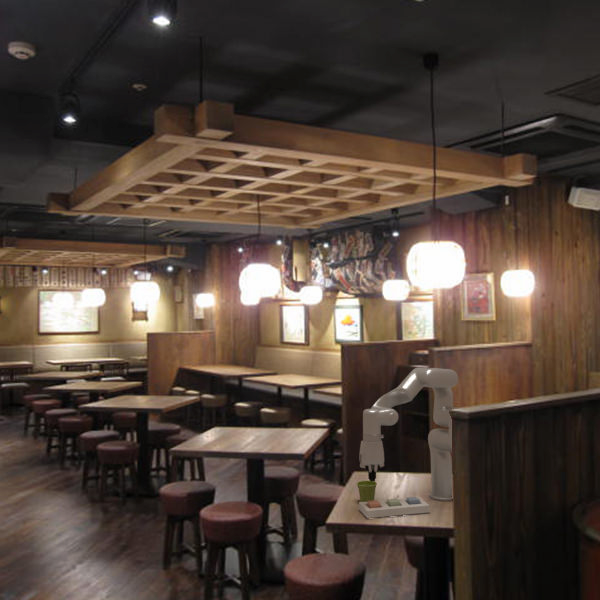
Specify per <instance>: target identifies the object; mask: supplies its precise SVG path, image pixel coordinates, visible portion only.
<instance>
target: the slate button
mask: <svg viewBox="0 0 600 600" xmlns="http://www.w3.org/2000/svg"><path fill="white" fill-rule="evenodd" d="M406 498H407V503H408V504H409V505H412V504H420V499H421V498H420V499H418V498H417V496H409V497H406Z"/></svg>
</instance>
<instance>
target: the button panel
mask: <svg viewBox="0 0 600 600" xmlns="http://www.w3.org/2000/svg"><path fill="white" fill-rule="evenodd" d="M416 497H417V496H416ZM417 498H418V499H420V504H412V505H409V504H408V503H407V497H406V498H405V497H404V498H397V499H398V500H399V501H400V506H390V507H389V506H388V505H387V499H384V500H383V499H382V500H378V501H379V502H380V507H379V508H369V507H368V505H367V502H361V501H358V511H359V512H360V513H361V514H362V515H363V517H365V519H366V518H367V519H366V520H370V519H369V518H377V519H383V518H382V517H387V518H391V517H390V516H398V517H404V516H403V515H409V516H419V515H429V514H430V512H431V511H430V510H431V509H430V507H431V506H430V504H428V503H427V502H426V501H425V500H423V499H422V498H421V497H419V496H418V497H417Z"/></svg>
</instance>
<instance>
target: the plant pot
mask: <svg viewBox="0 0 600 600" xmlns="http://www.w3.org/2000/svg"><path fill="white" fill-rule="evenodd" d="M377 485H378V482H376V481H373V482H371V481H370V480H360V481H357V482H356V486H357V489H358V492H359V493H358V494H359V500H360V501H359V502H367V501H373V500H375V497H376V496H375V495H376V488H377Z"/></svg>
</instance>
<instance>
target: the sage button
mask: <svg viewBox="0 0 600 600" xmlns="http://www.w3.org/2000/svg"><path fill="white" fill-rule="evenodd" d="M398 499H399V498H387V499H386V500H387V505H388V506H389V507H390V506H400V501H399V500H398Z"/></svg>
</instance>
